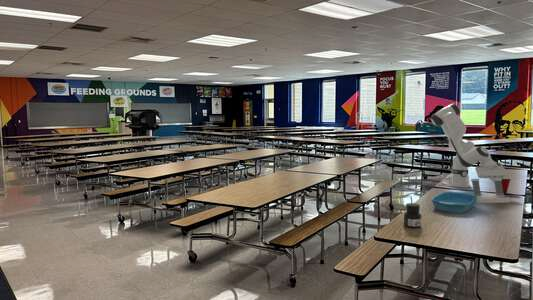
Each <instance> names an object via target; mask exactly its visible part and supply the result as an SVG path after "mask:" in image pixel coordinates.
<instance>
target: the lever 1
mask: <svg viewBox="0 0 533 300" xmlns="http://www.w3.org/2000/svg"><path fill="white" fill-rule="evenodd" d="M470 182H471V183H472V189H473V190H472V191H473V194H474V195H475V196H481V194H482V193H481V186H480V178H471V179H470Z"/></svg>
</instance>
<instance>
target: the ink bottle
mask: <svg viewBox="0 0 533 300" xmlns="http://www.w3.org/2000/svg"><path fill="white" fill-rule="evenodd" d="M403 226H404V227H406V228H409V229H420V228H421V227H422V214H421V213H420V204H419V203H415V202H410V203H408V202H407V203H406V205H405V212H404V213H403Z"/></svg>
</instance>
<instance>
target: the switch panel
mask: <svg viewBox="0 0 533 300" xmlns="http://www.w3.org/2000/svg"><path fill="white" fill-rule="evenodd" d="M470 194H471V195H474V193H470ZM477 197H478V198H477V201H476V203H478V204H494V203H495V204H498V203H499V204H500V203H501V204H502V203H504V204H505V203H508V204H509V203H511V202H512V198H511V197H509V196H505V195H503V196H497V195H496V193H481V196H477Z"/></svg>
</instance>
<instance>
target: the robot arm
mask: <svg viewBox="0 0 533 300" xmlns="http://www.w3.org/2000/svg"><path fill="white" fill-rule="evenodd" d="M460 114H461V110H460V107H459V106H458V105H457V104H456V103H451V104H448V105H447V106H445V107H443V108H441V109H439V110H438V111H436V112H435V113H433V114H432V115H431V116H430V120H431V123H432V125H434V126H435V127H441V128H442V130H443V133H444V135H445V136H446V138H447V139H448V148H449V149H450V150H452V151H453V152H455V154H456V155H455V157H453V159H452V168H451V170H450V171H451V172H450V173H449V174H448V175H447V176H446V177H445V181H442V184H443V185H446V186H447V187H451V188H469V187H470V186H471V184H470V176H469V168H470V167H472V166H473V165H475V164H476V163H478V162H479V166H476V167H475V168H474V169H475V171H476V175H477V177H478V179H489V180H490V181H492V183H494V184H495V182H494V180H493V179H495V178H506V177H508V175H509V174H508V172H507V170H506V168H505V167H504V166H503V164H502V163H499V162H496V161H494V160H493V158H492V156H491V154H490V152H489V151H488V150H487V148H486V147H484V146H478V145H477V146H475V143H474V142H473V141H472V140H469V139H464V138H463V137H464V135H465V134H466V131H467V126H466V124H465V122H464V121H463V120H462V118H460V117H459V115H460Z"/></svg>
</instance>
